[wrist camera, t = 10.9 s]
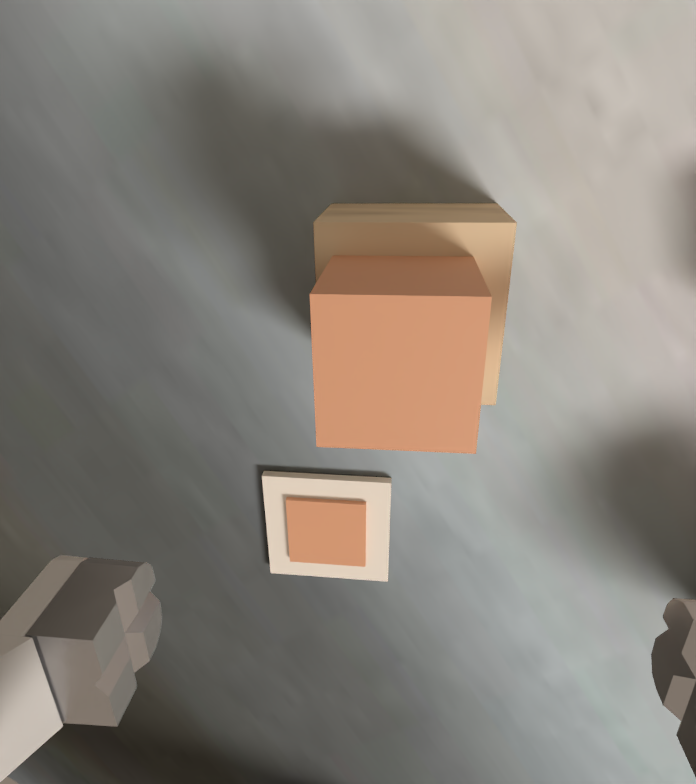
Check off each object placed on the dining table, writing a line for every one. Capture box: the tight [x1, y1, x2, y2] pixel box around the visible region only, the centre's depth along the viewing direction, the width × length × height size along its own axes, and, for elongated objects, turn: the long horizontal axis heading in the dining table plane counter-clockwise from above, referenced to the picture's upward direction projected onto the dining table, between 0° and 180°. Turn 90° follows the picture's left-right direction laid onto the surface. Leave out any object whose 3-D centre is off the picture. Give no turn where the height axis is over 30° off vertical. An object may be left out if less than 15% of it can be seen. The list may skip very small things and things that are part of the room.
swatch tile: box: [262, 471, 391, 582], centre depth 31 cm, size 7×7×1 cm
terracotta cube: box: [310, 255, 492, 454], centre depth 18 cm, size 5×5×5 cm
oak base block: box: [313, 203, 517, 405], centre depth 23 cm, size 7×7×5 cm
